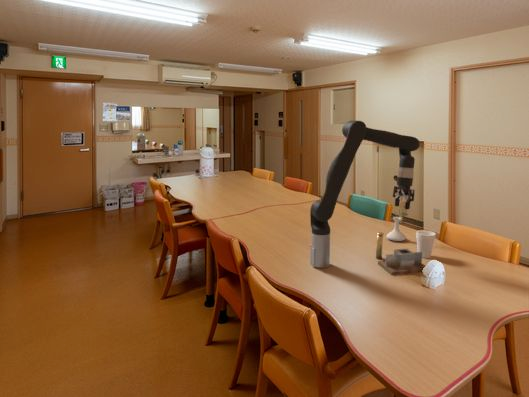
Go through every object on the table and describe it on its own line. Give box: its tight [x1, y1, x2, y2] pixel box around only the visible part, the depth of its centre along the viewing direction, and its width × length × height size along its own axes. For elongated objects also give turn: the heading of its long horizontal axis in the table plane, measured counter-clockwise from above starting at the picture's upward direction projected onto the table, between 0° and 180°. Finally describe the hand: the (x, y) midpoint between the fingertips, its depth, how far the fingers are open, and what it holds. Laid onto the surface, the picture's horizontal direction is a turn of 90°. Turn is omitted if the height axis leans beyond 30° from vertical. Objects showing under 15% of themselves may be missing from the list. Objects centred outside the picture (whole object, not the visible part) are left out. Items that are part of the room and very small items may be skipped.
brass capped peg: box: [375, 231, 385, 260], centre depth 193 cm, size 4×4×14 cm
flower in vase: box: [386, 199, 412, 242], centre depth 221 cm, size 13×11×25 cm
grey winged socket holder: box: [384, 248, 423, 268], centre depth 181 cm, size 19×7×7 cm, turn 99°
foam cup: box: [415, 229, 437, 259], centre depth 195 cm, size 10×9×13 cm
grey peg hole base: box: [377, 260, 426, 276], centre depth 182 cm, size 20×14×2 cm
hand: (401, 207), depth 189 cm, fingers open, 8 cm apart
